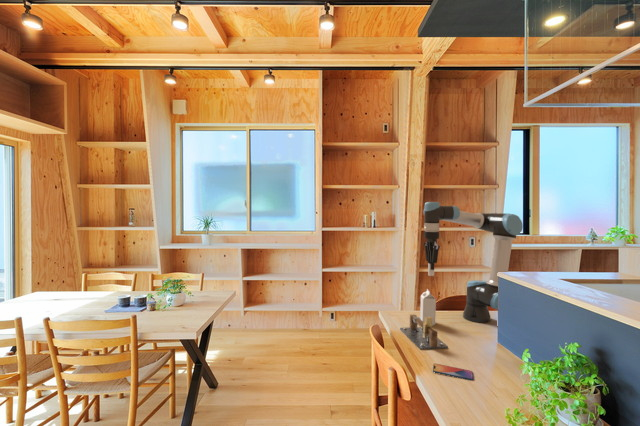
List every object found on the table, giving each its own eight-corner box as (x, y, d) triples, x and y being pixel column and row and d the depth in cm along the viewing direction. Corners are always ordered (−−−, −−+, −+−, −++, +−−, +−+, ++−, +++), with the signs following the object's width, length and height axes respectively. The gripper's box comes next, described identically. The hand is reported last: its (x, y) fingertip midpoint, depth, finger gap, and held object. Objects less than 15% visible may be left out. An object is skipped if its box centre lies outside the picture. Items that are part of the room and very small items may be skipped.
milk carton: (432, 321, 194) (433, 289, 194) (435, 325, 187) (436, 292, 187) (419, 320, 195) (420, 288, 195) (422, 324, 188) (423, 291, 188)
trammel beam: (414, 327, 181) (415, 314, 181) (437, 346, 156) (437, 331, 156) (409, 327, 181) (409, 314, 181) (431, 346, 156) (431, 331, 156)
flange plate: (424, 328, 182) (424, 325, 182) (447, 348, 157) (448, 345, 157) (399, 329, 180) (400, 326, 180) (420, 349, 155) (420, 346, 155)
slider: (429, 339, 164) (430, 316, 163) (431, 341, 162) (432, 318, 161) (422, 339, 163) (423, 316, 163) (424, 341, 161) (425, 318, 161)
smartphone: (473, 382, 128) (473, 379, 128) (432, 373, 134) (432, 370, 133) (472, 373, 135) (472, 370, 135) (433, 365, 140) (433, 363, 140)
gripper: (419, 230, 181) (419, 273, 181) (430, 232, 168) (430, 278, 168) (432, 230, 182) (431, 272, 182) (444, 232, 169) (444, 277, 169)
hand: (431, 275), depth 175 cm, fingers closed
